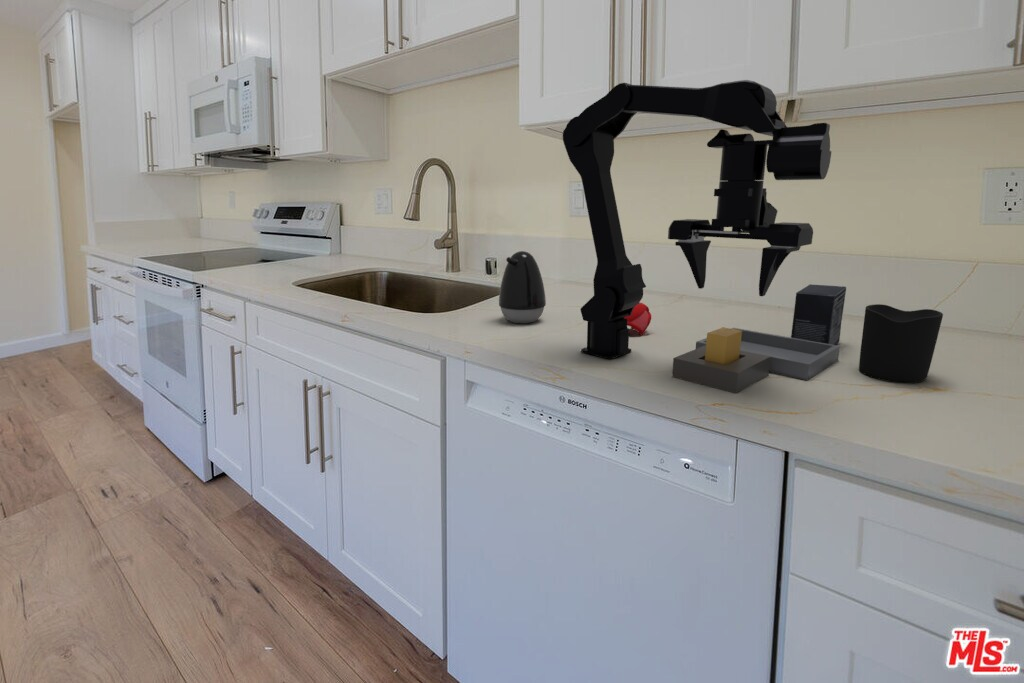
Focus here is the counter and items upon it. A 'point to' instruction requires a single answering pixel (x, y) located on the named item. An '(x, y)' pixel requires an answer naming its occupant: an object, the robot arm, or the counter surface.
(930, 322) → the pen holder
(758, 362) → the gray square frame
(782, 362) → the parts tray
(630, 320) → the cap
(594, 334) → the robot arm
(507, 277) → the pump dispenser
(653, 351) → the counter surface
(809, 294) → the small box
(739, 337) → the block
